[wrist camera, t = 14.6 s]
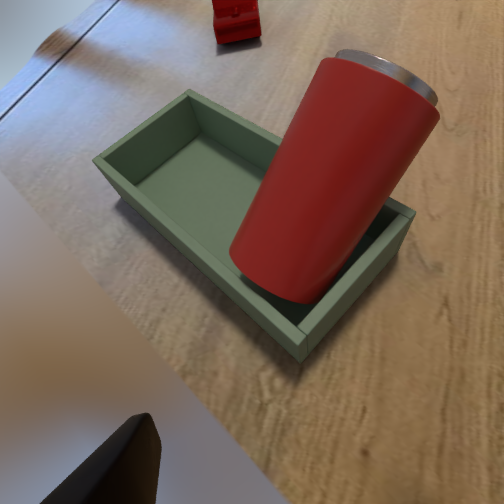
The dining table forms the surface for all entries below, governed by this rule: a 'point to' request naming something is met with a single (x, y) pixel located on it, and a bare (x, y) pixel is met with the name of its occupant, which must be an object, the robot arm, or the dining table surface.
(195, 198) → the bin
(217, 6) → the toy car
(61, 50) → the dining table surface
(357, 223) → the can
